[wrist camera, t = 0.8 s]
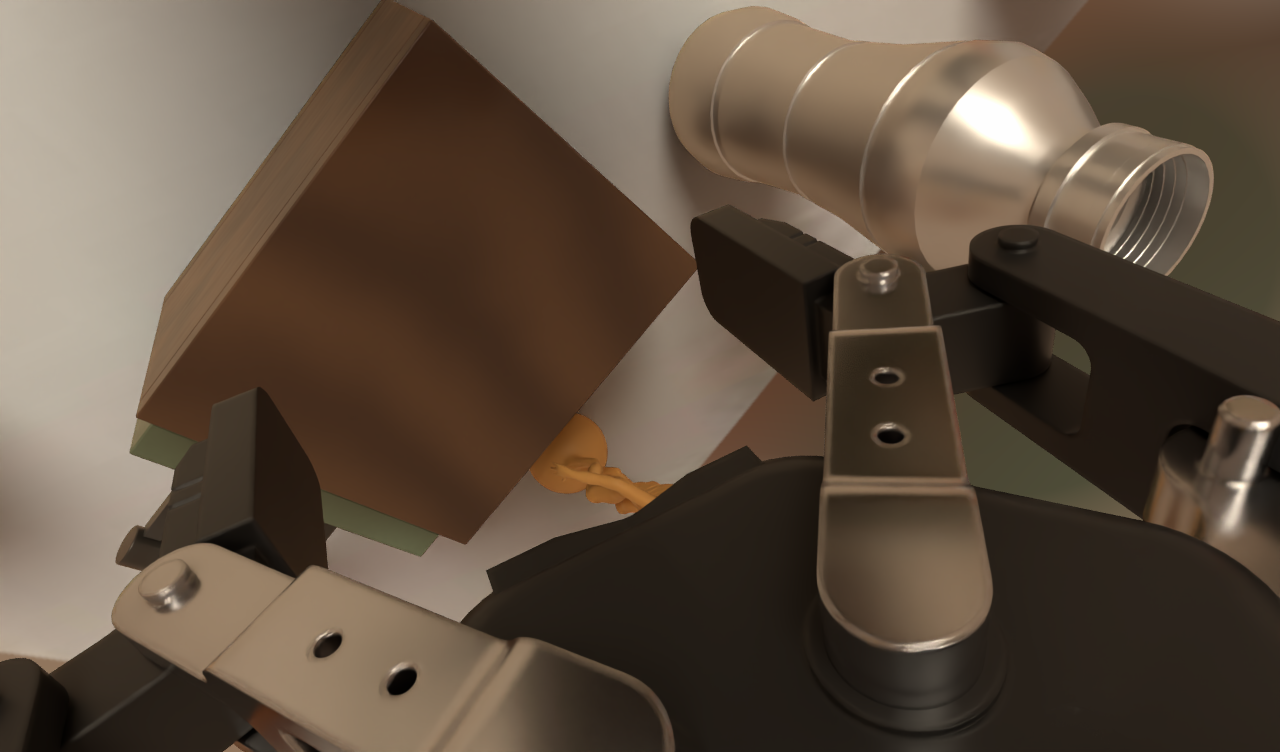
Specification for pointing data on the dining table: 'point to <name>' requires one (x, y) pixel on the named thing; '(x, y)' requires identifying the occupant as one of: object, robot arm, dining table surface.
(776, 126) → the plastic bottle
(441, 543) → the dining table surface
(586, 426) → the figurine
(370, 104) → the cabinet
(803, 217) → the dining table surface
